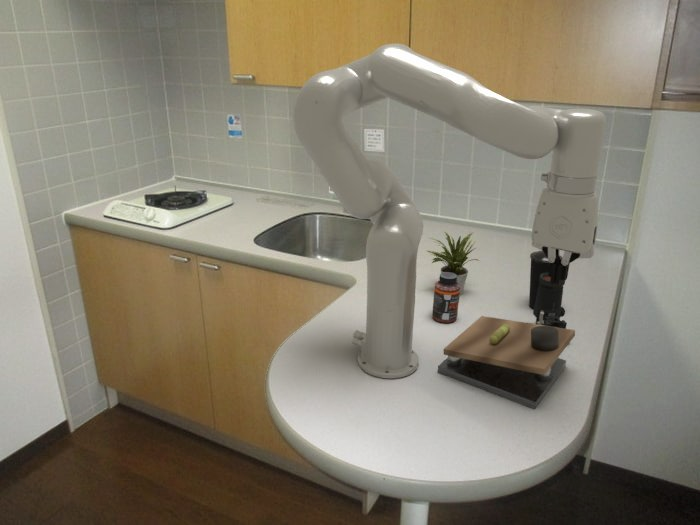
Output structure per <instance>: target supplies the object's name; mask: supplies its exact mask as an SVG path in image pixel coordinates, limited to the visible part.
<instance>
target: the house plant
mask: <svg viewBox="0 0 700 525" xmlns="http://www.w3.org/2000/svg"><path fill="white" fill-rule="evenodd" d="M443 233H444V234H445V236H446V237H445V240H446V241H447V242H448V244H447V245H448V247H449V249H448V248H447V247H446V245H445V244H444V243H443V242H442V241H440V240H438V239H435V238H432V237H431V238H430V237H429V239H430V240H434V241H435V242H437V243H439V244H438V246H440V247H442V249H443V251H441V252H438V251H433V250H427V252H428V253H430V255H431V256H435V257H434V258H432V259H431V261H432V262H431V264H430V265H432V264H433V263H438V262H443V263H444V264H445V265H444V266H442V267H441V268H440V274H441V273H443V272H451V273H454V274H456V275H457V283H458V284H459V285H460V294H459V296H461V295H462V294H463V292H464V287H465V285H466V281H467V277H468V275H469V270H468V269H467V268H465V264H467V263H468V262H472V261H478V262H479V263H480V262H481V261H480V260H479V259H477V258H475V259H473V258H472V259H470V260H468V259H469V257H468V255H469V254H470V253H473V252H472V251H474V250H476V248H477V247H474V248H473V246H474V245H475V244H476V241H474V242H473V243H472V241H473V239H474V238H473V237H472V238H471V236H472V235H473V234H474V231H473V232H469V234H467V235H466V236H464V238H463V239H462V238H461V237H462V236H461V235H460V236H459V237H458V240H457V241H456V243H455V239H454V238H453V236H451V235H449V234H448V232H446V231H444V230H443ZM470 238H471V239H470ZM461 239H462V240H461ZM469 239H470V241H469ZM434 241H431V242H433V243H434ZM468 241H469V242H468ZM467 243H468V244H467ZM471 243H472V244H471ZM466 244H467V245H466ZM469 246H470V247H469ZM472 248H473V249H472Z"/></svg>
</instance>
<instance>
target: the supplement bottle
mask: <svg viewBox="0 0 700 525" xmlns="http://www.w3.org/2000/svg"><path fill="white" fill-rule="evenodd" d="M438 278H439V279H438V280H437V281H436V282H435V284H434V291H433V303H432V318H433V320H435V321H437V322H439V323H443V324H449V323H453V322H455V321H456V320H457V318H458V312H459V310H458V309H459V300H460V295H459V294H460V285H459V284H458V283H457V275H456V274H454V273H451V272H443V273H441V272H440V274H439V277H438Z"/></svg>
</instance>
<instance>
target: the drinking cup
mask: <svg viewBox="0 0 700 525" xmlns="http://www.w3.org/2000/svg"><path fill="white" fill-rule="evenodd" d="M529 257H530V258H529V259H530V272H529V274H530V275H529V297H528V298H529V299H528V300H529V301H528V307H529V308H530V309H531V310H533V311H534V304H535V302H536V297H537V292H538V287H539V283H540V281H539V277H540V275H541V274H542V273H549V267H550V262H549V261H548V257H547V256H546V255H545V253H544V252H543V251H542V250H537V251H533V252H531V253H530V255H529ZM562 258H563V256H562V255H560V259H561V260H562Z"/></svg>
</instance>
